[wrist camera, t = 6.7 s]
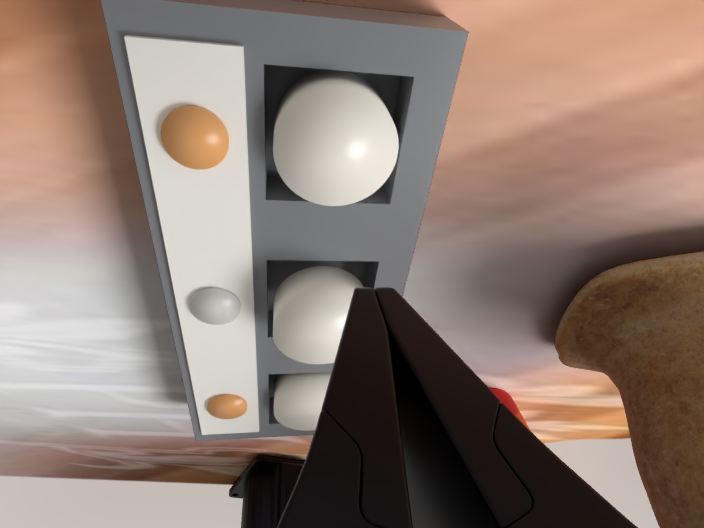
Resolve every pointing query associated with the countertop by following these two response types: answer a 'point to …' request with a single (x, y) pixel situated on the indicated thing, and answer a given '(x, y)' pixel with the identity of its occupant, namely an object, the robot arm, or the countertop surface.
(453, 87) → the button board
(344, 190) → the button
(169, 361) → the countertop surface
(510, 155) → the countertop surface
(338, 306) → the button middle
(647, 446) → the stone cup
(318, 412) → the button
